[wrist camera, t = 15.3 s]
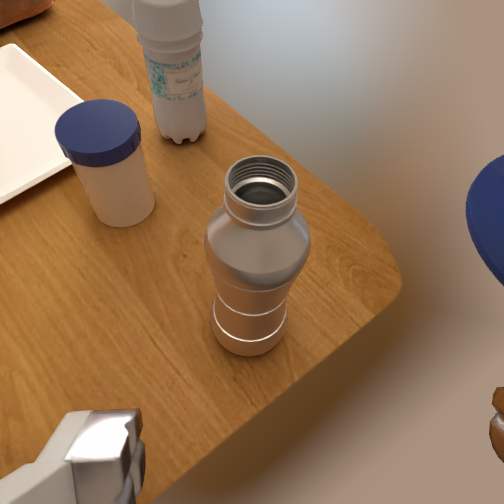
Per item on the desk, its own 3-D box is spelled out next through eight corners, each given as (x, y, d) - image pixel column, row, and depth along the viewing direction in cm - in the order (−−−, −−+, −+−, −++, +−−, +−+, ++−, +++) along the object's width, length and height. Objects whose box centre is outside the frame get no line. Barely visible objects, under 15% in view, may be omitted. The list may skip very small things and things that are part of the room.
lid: (123, 105, 39) (119, 90, 38) (154, 149, 36) (150, 134, 35) (50, 129, 37) (43, 114, 35) (76, 179, 34) (69, 164, 32)
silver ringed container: (211, 298, 38) (195, 135, 22) (281, 296, 39) (318, 135, 22) (211, 364, 35) (190, 233, 18) (287, 362, 35) (337, 231, 18)
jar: (140, 173, 47) (118, 97, 38) (165, 212, 44) (147, 138, 35) (85, 195, 45) (49, 119, 36) (107, 237, 42) (74, 166, 33)
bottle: (174, 157, 48) (143, -29, 31) (146, 127, 51) (103, -60, 34) (219, 135, 51) (213, -49, 34) (190, 107, 53) (170, -77, 36)
